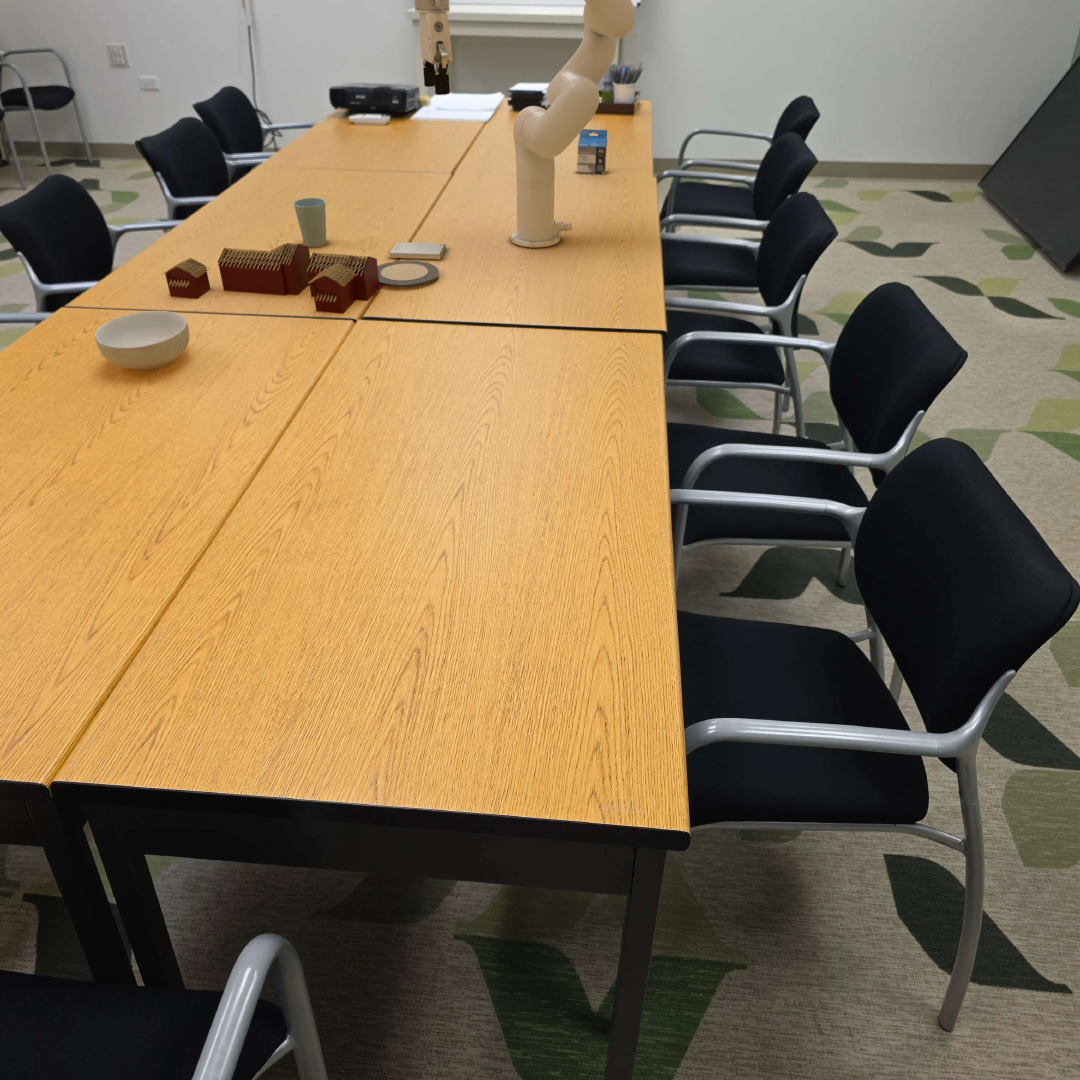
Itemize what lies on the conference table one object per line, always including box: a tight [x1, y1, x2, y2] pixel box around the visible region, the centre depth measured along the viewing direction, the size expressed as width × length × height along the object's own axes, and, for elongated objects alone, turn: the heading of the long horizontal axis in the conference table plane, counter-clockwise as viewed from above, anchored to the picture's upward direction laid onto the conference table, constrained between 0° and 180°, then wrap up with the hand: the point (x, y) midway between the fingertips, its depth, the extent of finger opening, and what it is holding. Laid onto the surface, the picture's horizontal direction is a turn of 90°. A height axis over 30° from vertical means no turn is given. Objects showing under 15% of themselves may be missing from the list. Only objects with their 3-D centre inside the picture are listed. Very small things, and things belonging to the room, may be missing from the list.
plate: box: [377, 260, 440, 288], centre depth 214 cm, size 16×16×1 cm
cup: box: [293, 197, 327, 248], centre depth 230 cm, size 8×8×10 cm
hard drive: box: [389, 241, 447, 260], centre depth 227 cm, size 2×8×12 cm
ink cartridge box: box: [576, 128, 608, 175], centre depth 286 cm, size 9×4×12 cm, turn 80°
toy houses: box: [161, 242, 381, 315], centre depth 204 cm, size 45×20×10 cm, turn 79°
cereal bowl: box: [94, 310, 190, 371], centre depth 175 cm, size 17×17×7 cm
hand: (436, 90), depth 208 cm, fingers open, 9 cm apart
